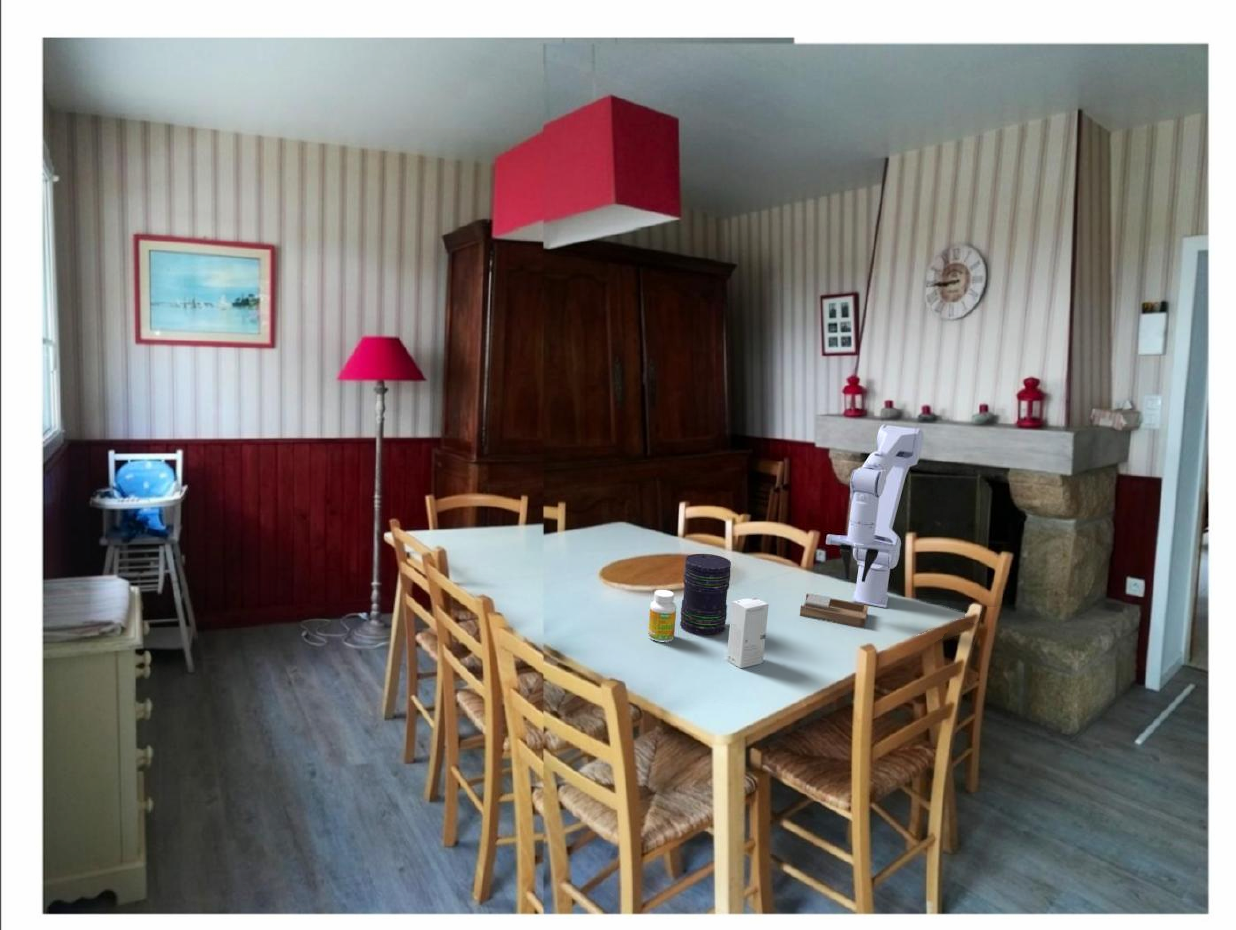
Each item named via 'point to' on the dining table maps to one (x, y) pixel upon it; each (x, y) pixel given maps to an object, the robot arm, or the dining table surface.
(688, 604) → the dark blue cylinder
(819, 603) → the cover plate
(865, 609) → the wooden box
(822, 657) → the dining table surface
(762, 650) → the skincare box
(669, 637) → the supplement bottle
